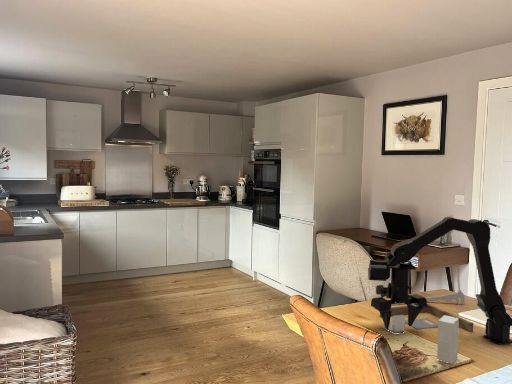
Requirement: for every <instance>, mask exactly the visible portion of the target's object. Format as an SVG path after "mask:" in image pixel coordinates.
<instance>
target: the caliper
mask: <svg viewBox="0 0 512 384" xmlns="http://www.w3.org/2000/svg"><path fill="white" fill-rule="evenodd" d="M425 298H426V300H427V302H433V301H434V302H435V301H442V300H446V301H447V302H449V301H454V300H455V302H456V304H457V305H458V306H459V305H460V300H461V304H462V306H464V305H465V300H466V299H465V293H464V292H462V289H460V290H457V292H453V293H452V292H451V293H446V294H445V293H444V295H434V296H427V297H426V296H425ZM459 298H460V299H459Z"/></svg>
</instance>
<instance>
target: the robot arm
mask: <svg viewBox="0 0 512 384" xmlns="http://www.w3.org/2000/svg"><path fill="white" fill-rule="evenodd" d="M451 231H457V232H462V233H465V234H466V237H467V240H468V241H469V243H470V245H471V247H472V250H473V255H474V259H475V264H476V269H477V274H478V275H477V276H478V280H479V284H480V293H476V294H475V298H476V300H477V304H476V306H477V307H478V308H480V310H481V311H482V312H483V313H484V315H485V317H486V322H485V331H484V332H485V334H482V336H481V337H482V338H483V339H485V340H488V341H490V342H493V343H494V344H497V345H504V344H511V343H512V339H511V337H510V336H511V327H512V317H511V315H510V314H508V312H507V309H506V306H505V303H504V301H503V299H502V296H501V294H500V293H499V291H498V290H497V286H496V279H495V274H494V270H493V265H492V259H491V254H490V249H489V246H490V241H491V227H490V225H489V223H487V222H485V221H482V220H478V219H475V218H472V219H469V220H467V219H466V220H465V219H460V218H454V217H451V216H446V217H444V218H443V219H442V220H440V221H439V222H436V223H435V224H433V225H432V226H430V227H428V228H427V229H426V230H424V231H422V232H420V233H419V234H417V235H415V236H414V237H411V238H409V239H405V240H402V241H399V242H397V243H394V245H392V246H391V249H390V253H388V255H387V256H386V257H385V258H384V260H375V259H370V260H369V264H368V268H367V275H368V280H369V281H377V282H380V281H381V282H387V280H389V279H390V282H388V284H387V286H386V287H385V286H384V285H383V284H379V285H377V284H376V286H375V293H376V295H378V296H379V295H380V297H373V298H372V299H371V300H370V307H372V308H374V310H377V311H378V312H379V315H380V314H381V316H382V317H381V318H382V319H381V320H382V322H383V324H384V325H385V328H386V329H388V328H389V324H391V317H392V316H391V312H392V311H390V309H391V307H392V306H393V307H396V306H403V305H404V306H407V307H408V315H407V320H408V325H407V326H409V327H411V326H412V324H413V322H414V321H415V320H416V319H417V317H418V316H419V315H420V314H421V313H420V312H421V310H422V309H424V307H426V306H427V304H428V301H427V300H426V298H425V297H426V296H425V297H424V296H422V295H419V294H417V293H414V294H413V293H412V294H409V290H412V286H411V285H410V271H411V270H413V271H415V270H417V268H416V267H415V265H414V264H413V262H411V260H412V259H414V257H415V256H417V254H418V253H419V252H420V251H421V250H422V249H423V248H425V247H426V246H429V245H430V244H431V243H433V242H435V241H437V240H438V239H440V238H442V237H443V236H445V235H446V234H448V233H450V232H451ZM384 297H386V298H384Z"/></svg>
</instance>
